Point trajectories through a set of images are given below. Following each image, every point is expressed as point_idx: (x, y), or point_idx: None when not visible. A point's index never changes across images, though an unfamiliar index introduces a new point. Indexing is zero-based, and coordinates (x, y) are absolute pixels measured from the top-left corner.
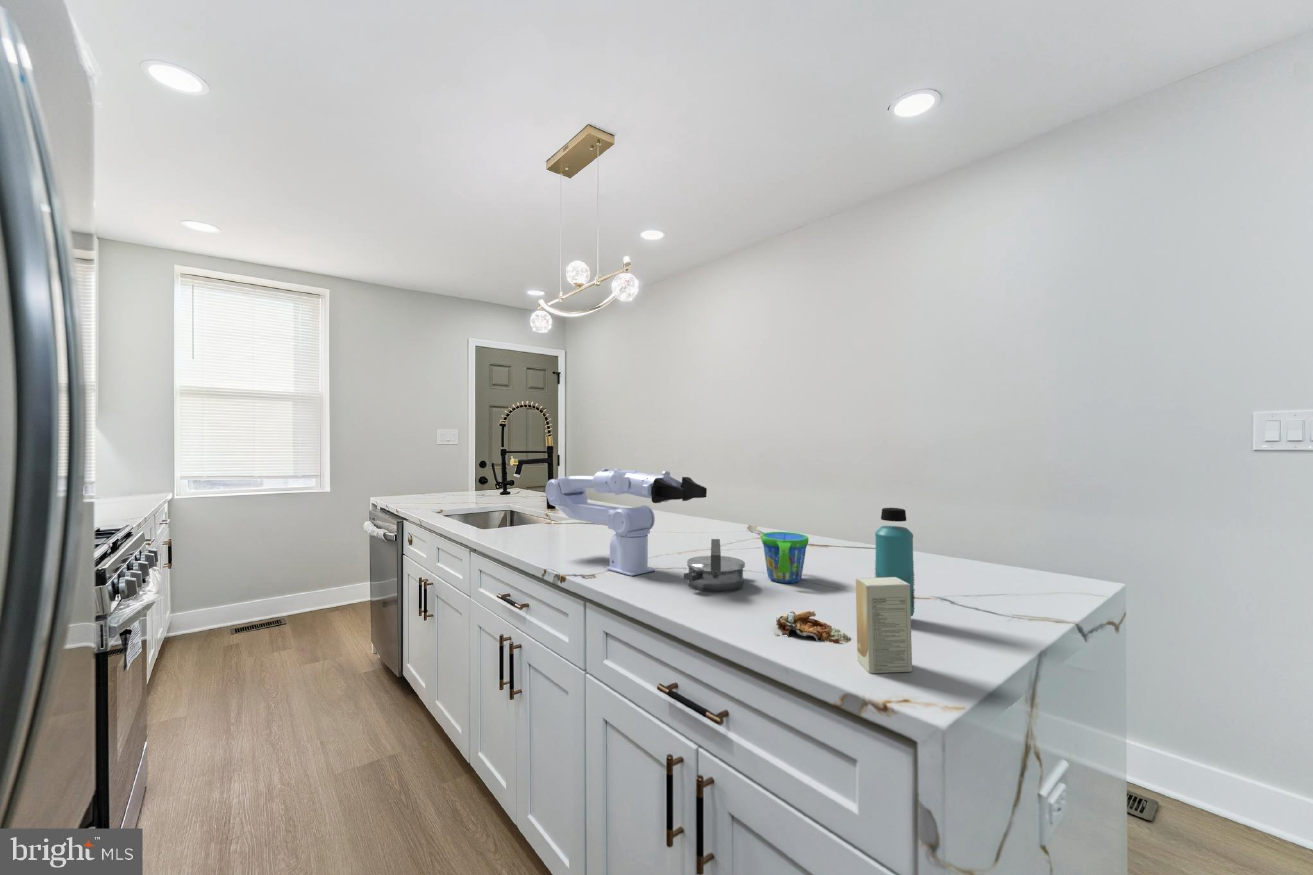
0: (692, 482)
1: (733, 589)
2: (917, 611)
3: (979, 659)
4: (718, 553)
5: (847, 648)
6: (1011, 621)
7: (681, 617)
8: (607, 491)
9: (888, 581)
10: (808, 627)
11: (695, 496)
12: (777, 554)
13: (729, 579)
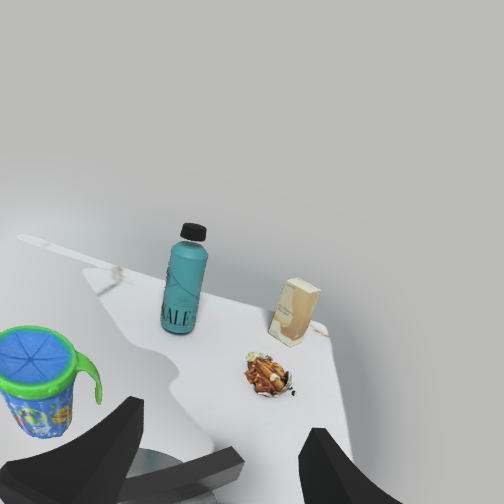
0: (90, 455)
1: None
2: (135, 316)
3: (228, 306)
4: (219, 455)
5: (273, 353)
6: (132, 283)
7: None
8: None
9: (303, 282)
10: (278, 367)
11: (122, 476)
12: (71, 389)
13: None
